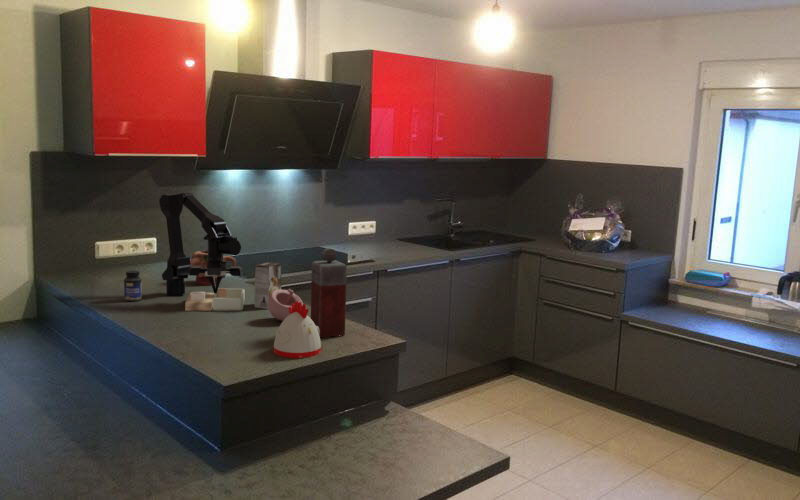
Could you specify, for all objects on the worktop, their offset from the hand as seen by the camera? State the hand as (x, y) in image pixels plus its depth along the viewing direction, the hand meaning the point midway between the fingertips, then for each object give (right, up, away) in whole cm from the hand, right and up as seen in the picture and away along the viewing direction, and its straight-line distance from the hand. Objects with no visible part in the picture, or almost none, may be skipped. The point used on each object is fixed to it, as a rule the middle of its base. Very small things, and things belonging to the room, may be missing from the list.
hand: (215, 293), depth 257 cm
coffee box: (+20, -5, -1) cm, 21 cm away
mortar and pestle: (+30, -8, -21) cm, 38 cm away
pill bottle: (-31, -3, -1) cm, 31 cm away
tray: (+6, -4, -2) cm, 8 cm away
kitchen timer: (+39, -14, -56) cm, 70 cm away
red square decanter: (+46, -11, -35) cm, 58 cm away
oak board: (-4, -4, -4) cm, 7 cm away
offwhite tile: (-4, -2, -9) cm, 10 cm away
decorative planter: (-11, +2, +36) cm, 38 cm away
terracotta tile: (+1, -1, +1) cm, 2 cm away
